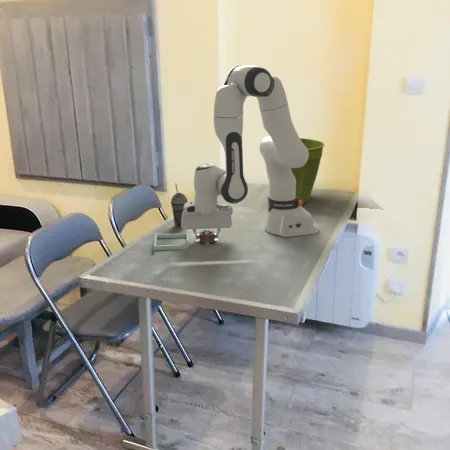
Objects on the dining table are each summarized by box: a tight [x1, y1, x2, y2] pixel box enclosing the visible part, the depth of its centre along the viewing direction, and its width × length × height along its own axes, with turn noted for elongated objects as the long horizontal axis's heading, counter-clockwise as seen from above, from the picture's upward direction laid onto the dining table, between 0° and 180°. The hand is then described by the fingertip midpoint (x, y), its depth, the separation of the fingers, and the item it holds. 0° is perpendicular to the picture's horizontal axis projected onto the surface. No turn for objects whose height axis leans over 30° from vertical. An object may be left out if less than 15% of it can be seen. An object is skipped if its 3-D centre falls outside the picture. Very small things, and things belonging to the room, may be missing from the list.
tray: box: [153, 232, 190, 253], centre depth 207 cm, size 13×13×2 cm
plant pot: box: [265, 137, 325, 204], centre depth 259 cm, size 30×30×29 cm
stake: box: [195, 229, 219, 246], centre depth 209 cm, size 9×9×5 cm
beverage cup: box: [170, 182, 189, 229], centre depth 223 cm, size 7×7×20 cm
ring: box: [198, 229, 215, 246], centre depth 208 cm, size 9×6×3 cm
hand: (206, 238), depth 209 cm, fingers closed on ring, 6 cm apart
